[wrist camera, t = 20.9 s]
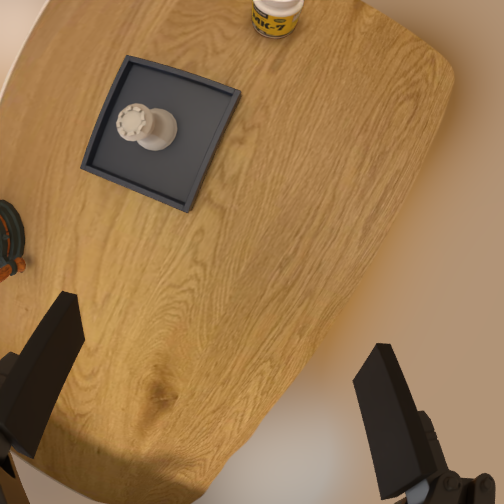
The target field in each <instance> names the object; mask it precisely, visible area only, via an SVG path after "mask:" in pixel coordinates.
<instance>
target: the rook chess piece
mask: <svg viewBox="0 0 504 504" xmlns="http://www.w3.org/2000/svg"><path fill="white" fill-rule="evenodd" d="M116 125H117V130H118V132H119V134H120V136H121V137H122V138H124V139H125V140H128V141H136V140H137V142H138V143H139V145H141V146H142V147H144V148H145V149H148V150H153V151H157V150H162V149H164V148H166V147H167V146H169V145H170V144H171V143H172V141H173V140H174V138H175V137H176V133H177V123H176V120H175V118H174V117H173V115H172V114H171V113H169V112H168V111H166V110H163V109H157V108H154V109H150V110H149V109H148V108H147V107H146V106H144V105H143V104H136V103H135V104H132V105H128V106H127V107H126V108H124V109H123V110H122V111H121V112H120V113H119V115H118V120H117V122H116Z"/></svg>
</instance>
